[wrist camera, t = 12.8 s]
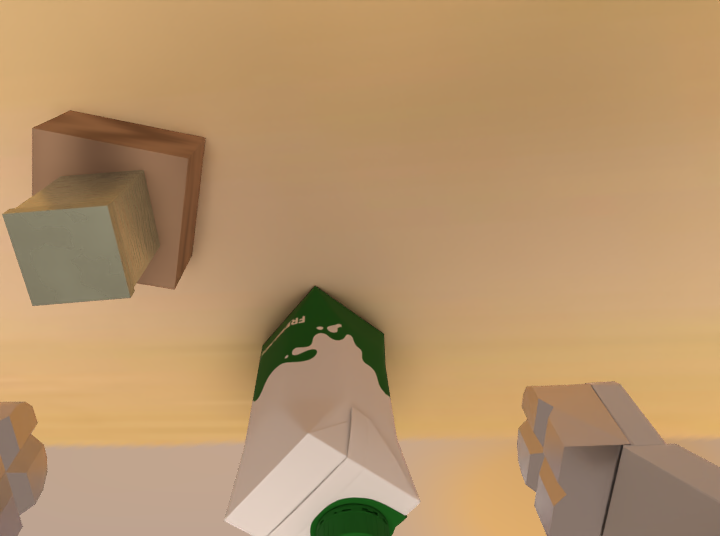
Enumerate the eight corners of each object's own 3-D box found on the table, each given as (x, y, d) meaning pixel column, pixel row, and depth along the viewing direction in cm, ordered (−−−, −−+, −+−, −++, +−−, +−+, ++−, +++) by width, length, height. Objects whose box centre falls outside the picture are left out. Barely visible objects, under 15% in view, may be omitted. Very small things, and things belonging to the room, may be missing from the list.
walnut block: (206, 137, 42) (188, 158, 37) (192, 254, 46) (174, 289, 40) (71, 110, 41) (32, 128, 35) (68, 232, 44) (32, 265, 39)
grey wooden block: (144, 167, 37) (107, 205, 30) (162, 246, 39) (130, 297, 32) (58, 174, 37) (2, 214, 30) (80, 253, 39) (32, 306, 32)
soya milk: (332, 401, 52) (336, 624, 34) (245, 346, 49) (197, 555, 31) (400, 331, 49) (444, 531, 31) (311, 268, 46) (302, 447, 28)
